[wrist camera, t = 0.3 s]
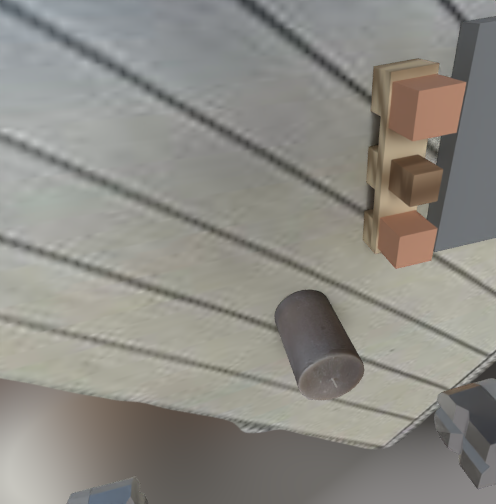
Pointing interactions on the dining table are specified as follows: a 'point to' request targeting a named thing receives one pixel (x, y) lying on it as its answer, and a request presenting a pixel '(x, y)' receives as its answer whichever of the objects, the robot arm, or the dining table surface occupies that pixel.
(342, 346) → the pillar candle
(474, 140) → the dock
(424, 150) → the pallet
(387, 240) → the block
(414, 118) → the block
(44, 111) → the dining table surface
